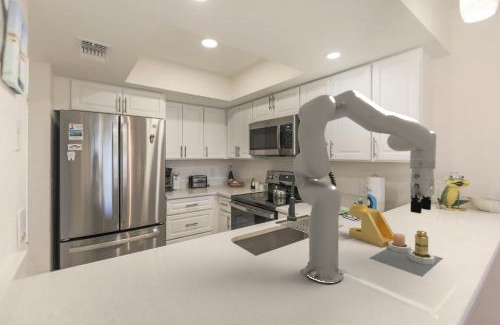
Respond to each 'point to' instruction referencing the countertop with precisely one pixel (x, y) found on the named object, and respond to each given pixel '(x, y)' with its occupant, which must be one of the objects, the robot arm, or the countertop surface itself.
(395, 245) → the joined fitting
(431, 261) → the white octagonal ring
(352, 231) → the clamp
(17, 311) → the countertop surface
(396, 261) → the mat
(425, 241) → the gold rounded cylinder
